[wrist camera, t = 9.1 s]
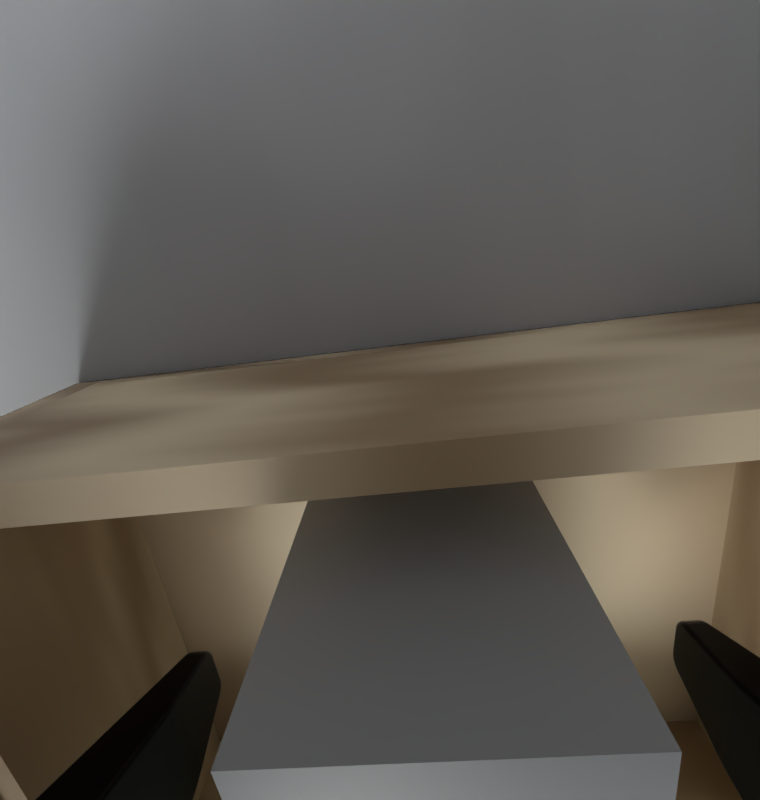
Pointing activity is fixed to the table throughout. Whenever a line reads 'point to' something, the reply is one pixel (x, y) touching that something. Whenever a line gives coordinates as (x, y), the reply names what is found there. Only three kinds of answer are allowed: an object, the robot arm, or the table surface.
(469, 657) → the box
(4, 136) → the table surface
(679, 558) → the wooden cubby shelf
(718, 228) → the table surface
